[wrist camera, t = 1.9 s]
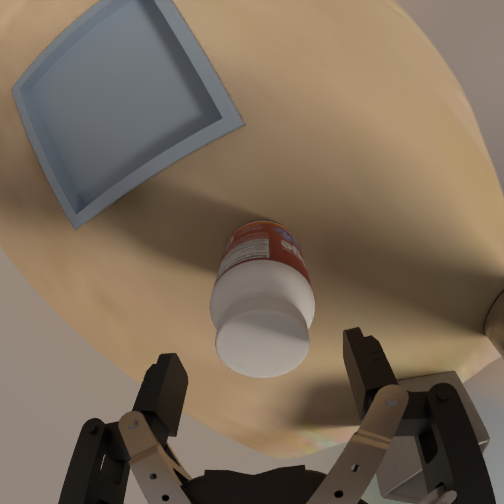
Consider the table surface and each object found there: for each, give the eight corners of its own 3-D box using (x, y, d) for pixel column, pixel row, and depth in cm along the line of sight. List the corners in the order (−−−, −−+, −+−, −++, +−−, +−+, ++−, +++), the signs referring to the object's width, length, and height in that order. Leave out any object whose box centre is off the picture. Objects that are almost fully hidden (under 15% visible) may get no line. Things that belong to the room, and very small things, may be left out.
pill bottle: (308, 274, 24) (334, 372, 14) (241, 294, 25) (229, 395, 15) (287, 207, 22) (309, 280, 12) (213, 232, 23) (178, 317, 13)
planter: (448, 347, 28) (509, 463, 10) (455, 372, 30) (503, 471, 13) (344, 408, 33) (367, 533, 15) (365, 425, 35) (387, 529, 17)
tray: (159, -20, 13) (149, -32, 11) (245, 125, 19) (243, 124, 17) (27, 88, 17) (11, 88, 14) (89, 220, 22) (75, 230, 20)
